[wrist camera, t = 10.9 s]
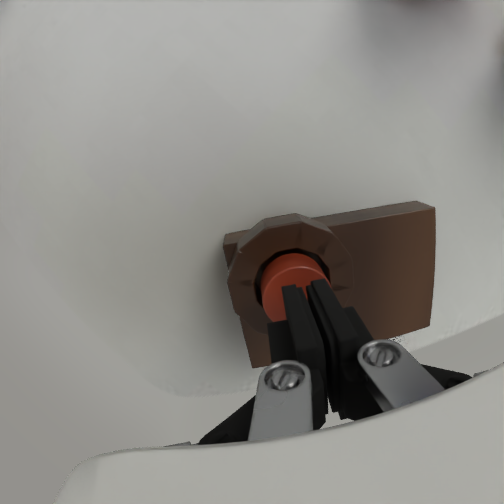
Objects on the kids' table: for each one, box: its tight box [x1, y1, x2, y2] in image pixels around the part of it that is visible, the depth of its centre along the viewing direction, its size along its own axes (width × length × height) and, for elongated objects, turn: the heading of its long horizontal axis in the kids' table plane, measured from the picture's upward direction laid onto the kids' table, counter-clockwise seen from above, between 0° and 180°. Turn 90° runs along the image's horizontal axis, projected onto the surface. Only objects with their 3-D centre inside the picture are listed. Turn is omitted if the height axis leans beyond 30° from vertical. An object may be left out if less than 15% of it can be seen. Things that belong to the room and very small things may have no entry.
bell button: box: [261, 253, 331, 322], centre depth 13 cm, size 3×3×2 cm
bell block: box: [223, 201, 436, 368], centre depth 16 cm, size 12×9×4 cm
